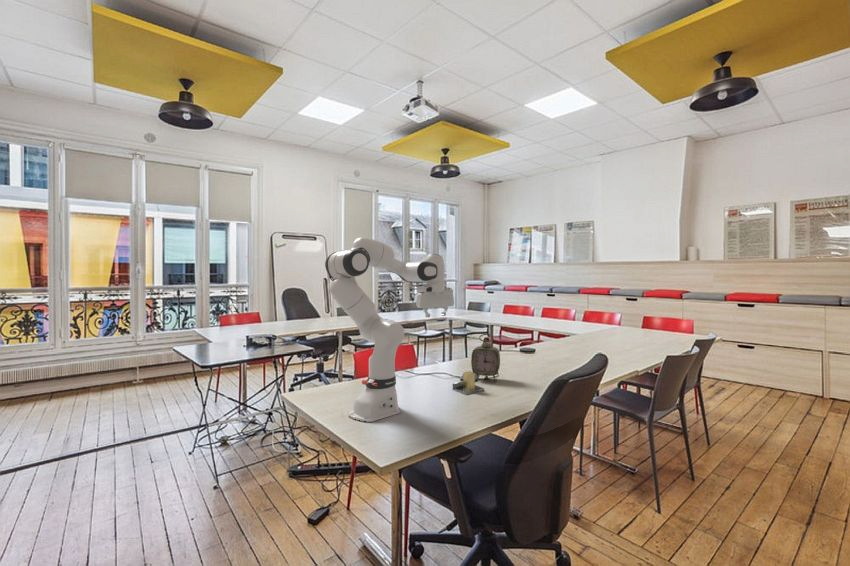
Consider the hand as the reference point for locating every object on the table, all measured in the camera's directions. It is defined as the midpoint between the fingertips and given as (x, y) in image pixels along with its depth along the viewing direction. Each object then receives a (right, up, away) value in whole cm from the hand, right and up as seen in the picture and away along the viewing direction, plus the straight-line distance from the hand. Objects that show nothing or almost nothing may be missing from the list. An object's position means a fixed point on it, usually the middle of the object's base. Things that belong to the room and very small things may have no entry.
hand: (435, 316), depth 191 cm
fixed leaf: (+16, -37, +5) cm, 40 cm away
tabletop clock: (+28, -36, +23) cm, 51 cm away
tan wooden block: (+16, -36, +4) cm, 40 cm away
